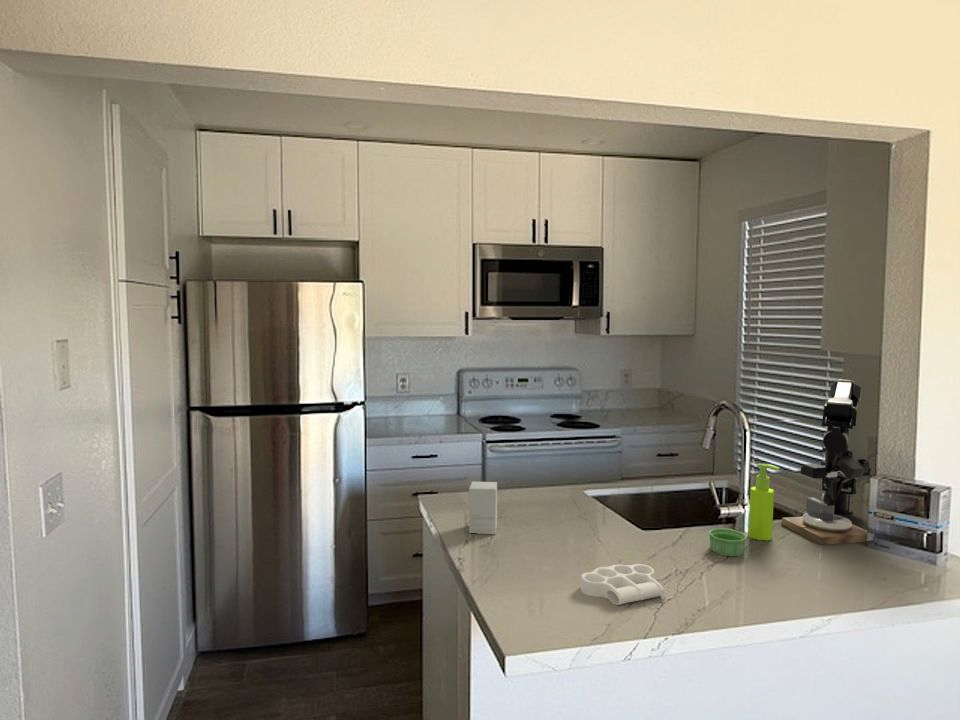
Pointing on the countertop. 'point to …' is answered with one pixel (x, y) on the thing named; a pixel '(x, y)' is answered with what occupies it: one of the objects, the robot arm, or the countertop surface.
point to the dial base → (825, 532)
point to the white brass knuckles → (622, 583)
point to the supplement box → (483, 507)
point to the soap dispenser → (761, 506)
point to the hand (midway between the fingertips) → (833, 499)
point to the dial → (824, 517)
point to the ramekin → (727, 541)
